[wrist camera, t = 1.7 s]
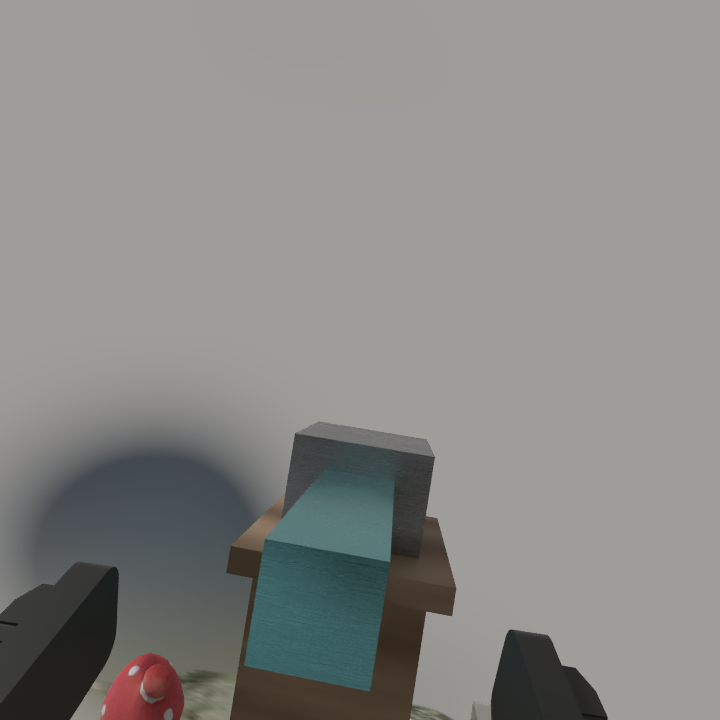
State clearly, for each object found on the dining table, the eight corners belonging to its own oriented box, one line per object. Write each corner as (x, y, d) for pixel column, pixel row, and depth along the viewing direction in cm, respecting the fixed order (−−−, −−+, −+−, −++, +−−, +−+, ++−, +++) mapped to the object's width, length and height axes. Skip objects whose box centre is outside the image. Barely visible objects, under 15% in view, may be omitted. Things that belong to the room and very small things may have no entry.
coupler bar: (306, 498, 35) (318, 421, 35) (414, 517, 34) (426, 439, 35) (182, 653, 15) (212, 473, 15) (434, 704, 15) (462, 518, 15)
